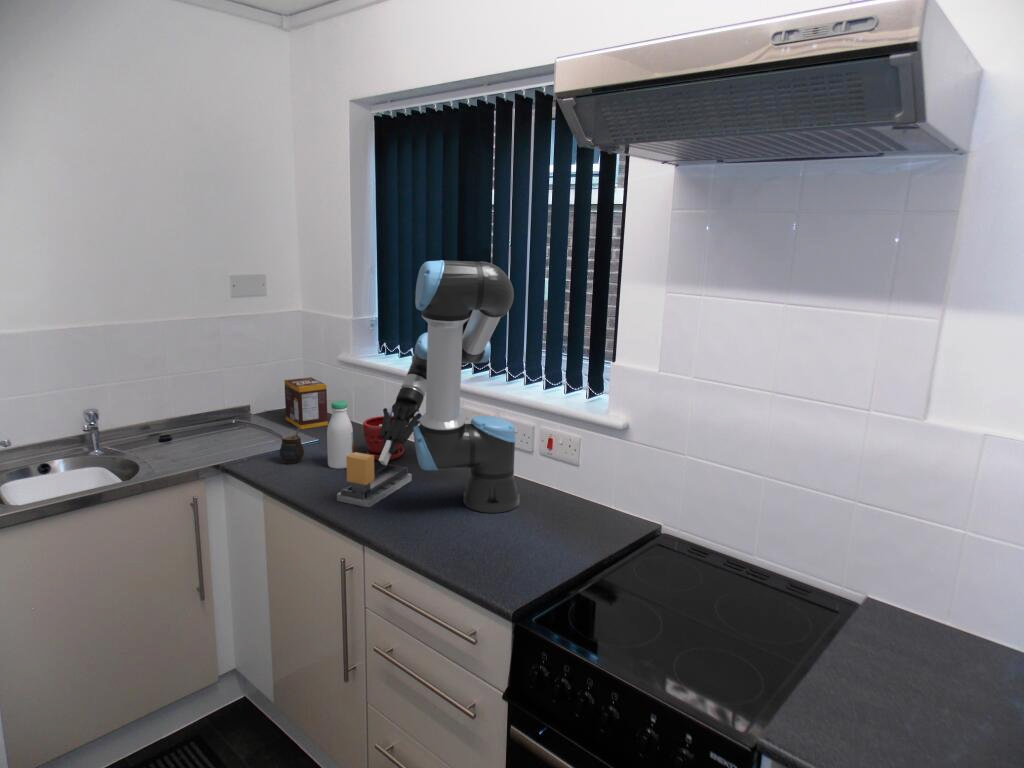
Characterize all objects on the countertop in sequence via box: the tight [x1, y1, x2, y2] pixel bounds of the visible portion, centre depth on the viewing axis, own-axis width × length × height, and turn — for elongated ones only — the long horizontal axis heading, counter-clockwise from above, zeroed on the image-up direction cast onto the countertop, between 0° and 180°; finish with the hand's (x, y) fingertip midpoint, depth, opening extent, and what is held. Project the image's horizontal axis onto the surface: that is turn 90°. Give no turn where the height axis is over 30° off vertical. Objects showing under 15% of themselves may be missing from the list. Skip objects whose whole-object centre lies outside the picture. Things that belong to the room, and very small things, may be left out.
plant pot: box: [362, 415, 405, 461], centre depth 214 cm, size 13×13×12 cm
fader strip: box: [336, 463, 413, 509], centre depth 186 cm, size 23×10×4 cm, turn 158°
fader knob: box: [346, 451, 375, 493], centre depth 179 cm, size 4×6×10 cm, turn 68°
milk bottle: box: [326, 400, 355, 470], centre depth 203 cm, size 8×8×20 cm
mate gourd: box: [278, 427, 305, 465], centre depth 206 cm, size 7×8×10 cm
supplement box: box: [284, 376, 329, 430], centre depth 248 cm, size 10×15×16 cm
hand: (382, 462), depth 188 cm, fingers closed
